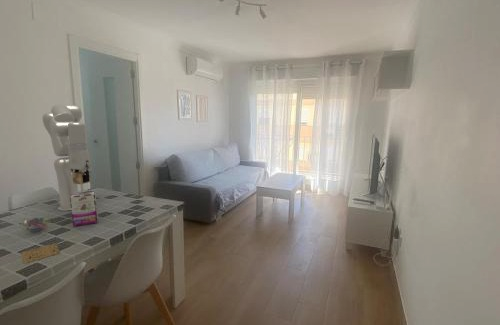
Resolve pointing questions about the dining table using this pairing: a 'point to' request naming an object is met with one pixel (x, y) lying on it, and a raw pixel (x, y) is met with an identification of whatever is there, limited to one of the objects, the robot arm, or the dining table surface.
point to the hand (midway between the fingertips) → (81, 181)
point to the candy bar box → (84, 208)
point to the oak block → (79, 177)
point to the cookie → (40, 253)
